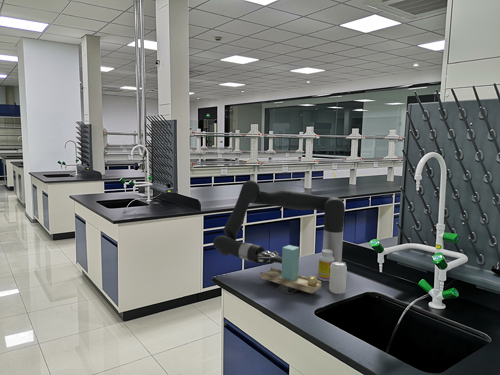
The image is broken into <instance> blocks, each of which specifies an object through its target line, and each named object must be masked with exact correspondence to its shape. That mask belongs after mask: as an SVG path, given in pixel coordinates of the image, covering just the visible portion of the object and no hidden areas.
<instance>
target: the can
mask: <svg viewBox="0 0 500 375" xmlns="http://www.w3.org/2000/svg"><path fill="white" fill-rule="evenodd" d="M347 268H348V267H347V263H346V262H344V261H343V260H341V261H332V264H331V266H330V281H329V286H328V290H329V292H330V293H331V294H335V295H343V294H345V293H346V289H347V288H346V286H347V272H348V270H347Z"/></svg>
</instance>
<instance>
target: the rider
mask: <svg viewBox="0 0 500 375" xmlns="http://www.w3.org/2000/svg"><path fill="white" fill-rule="evenodd" d="M281 249H282V252H281V253H282V254H281V257H282V264H281V270H282V274H281V278H283V279H287V280H290V281H294V280H295V279H297V278H298V275H299V263H300V247H299V246H294V245H291V244H288V245H286V246H285V245H284V246H282V248H281Z"/></svg>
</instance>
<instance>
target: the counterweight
mask: <svg viewBox="0 0 500 375" xmlns="http://www.w3.org/2000/svg"><path fill="white" fill-rule="evenodd" d="M307 277H308V286H311V287H316V286H317V280H318V277H317V276H314V275H309V276H307Z"/></svg>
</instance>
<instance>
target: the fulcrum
mask: <svg viewBox="0 0 500 375" xmlns="http://www.w3.org/2000/svg"><path fill="white" fill-rule="evenodd" d="M275 290H276V291H277V290H278V291H277V292H280V291H281V293H284V294H287V295H290V296H291V295H293V293H296V292H297V291H299V289H295V288H292V287H289V286H285V285H282V284H280V285H279V286H277V287H276V288H275Z"/></svg>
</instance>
